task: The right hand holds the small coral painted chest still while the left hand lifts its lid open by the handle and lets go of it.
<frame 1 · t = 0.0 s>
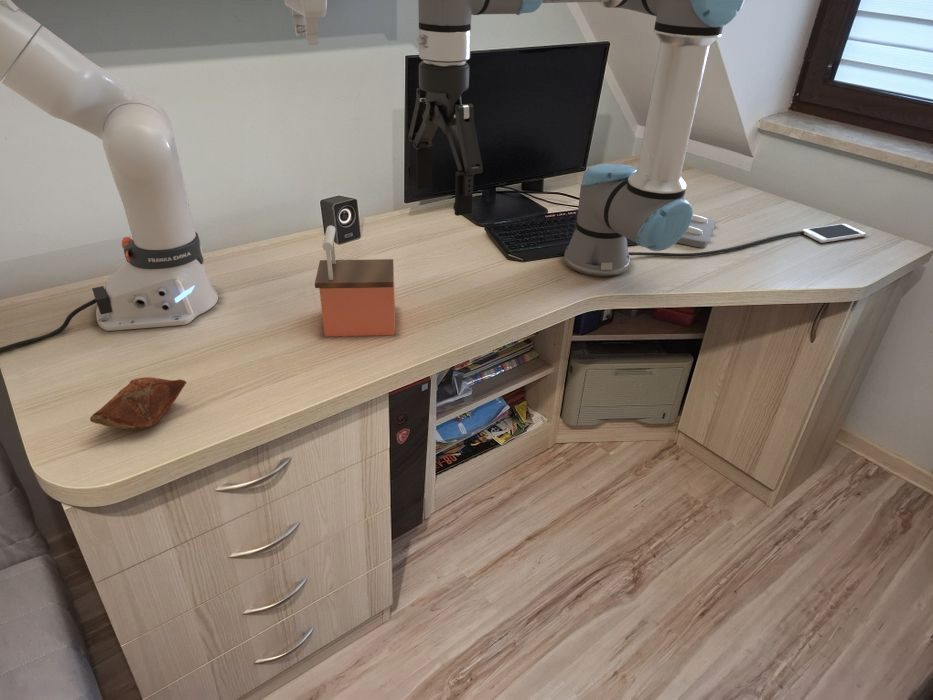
left hand: (306, 40, 114), 48 cm above the table, tool pointing down, fingers open, 8 cm apart
right hand: (442, 200, 106), 28 cm above the table, tool pointing down, fingers open, 13 cm apart
smartphone: (832, 234, 171), on the table
light switch: (680, 230, 170), on the table
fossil: (146, 420, 100), on the table
lid: (354, 255, 118), point 15 cm above the table, hinge at 0.0°
chest: (361, 322, 126), on the table
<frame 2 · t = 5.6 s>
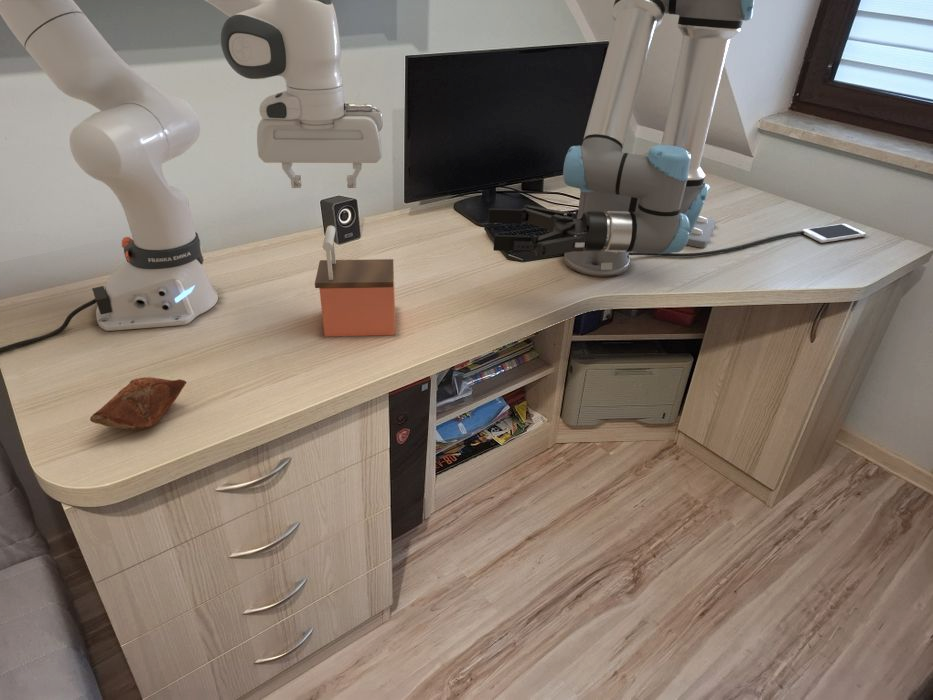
left hand: (324, 187, 110), 28 cm above the table, tool pointing down, fingers open, 8 cm apart
right hand: (491, 228, 119), 19 cm above the table, tool horizontal, fingers open, 13 cm apart
nothing on the table moved.
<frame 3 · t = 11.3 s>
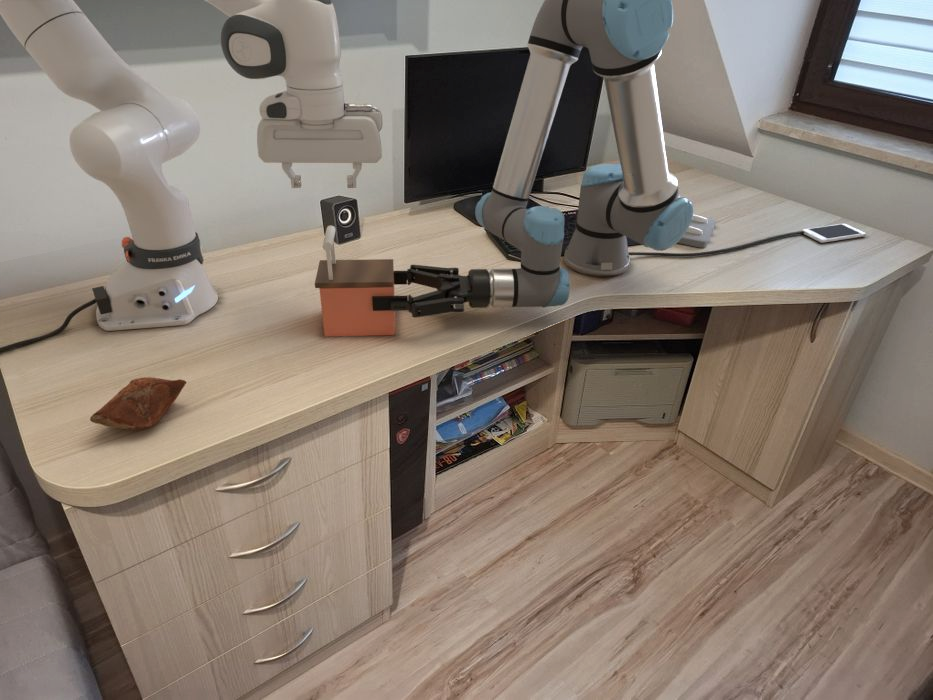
left hand: (324, 187, 110), 28 cm above the table, tool pointing down, fingers open, 8 cm apart
right hand: (373, 290, 122), 7 cm above the table, tool horizontal, fingers closed on chest, 9 cm apart
chest: (361, 322, 126), on the table, touching right hand
everything else where it was.
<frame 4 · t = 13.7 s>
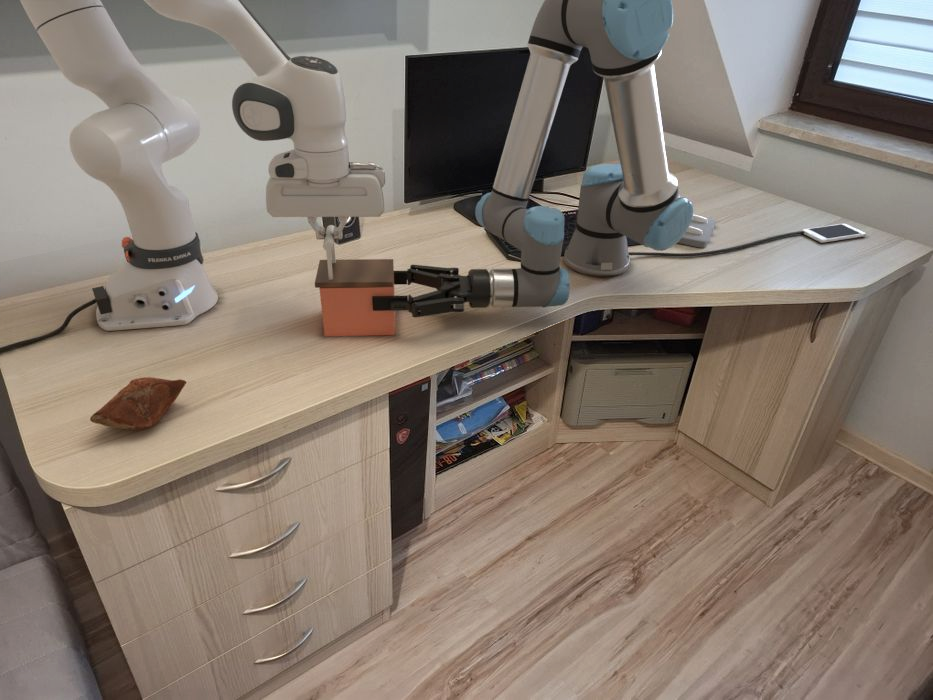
left hand: (329, 238, 116), 18 cm above the table, tool pointing down, fingers closed on lid, 2 cm apart
right hand: (373, 290, 122), 7 cm above the table, tool horizontal, fingers closed on chest, 9 cm apart
lid: (354, 254, 118), point 15 cm above the table, hinge at 0.4°, touching left hand
chest: (361, 322, 126), on the table, touching right hand
everything else where it was.
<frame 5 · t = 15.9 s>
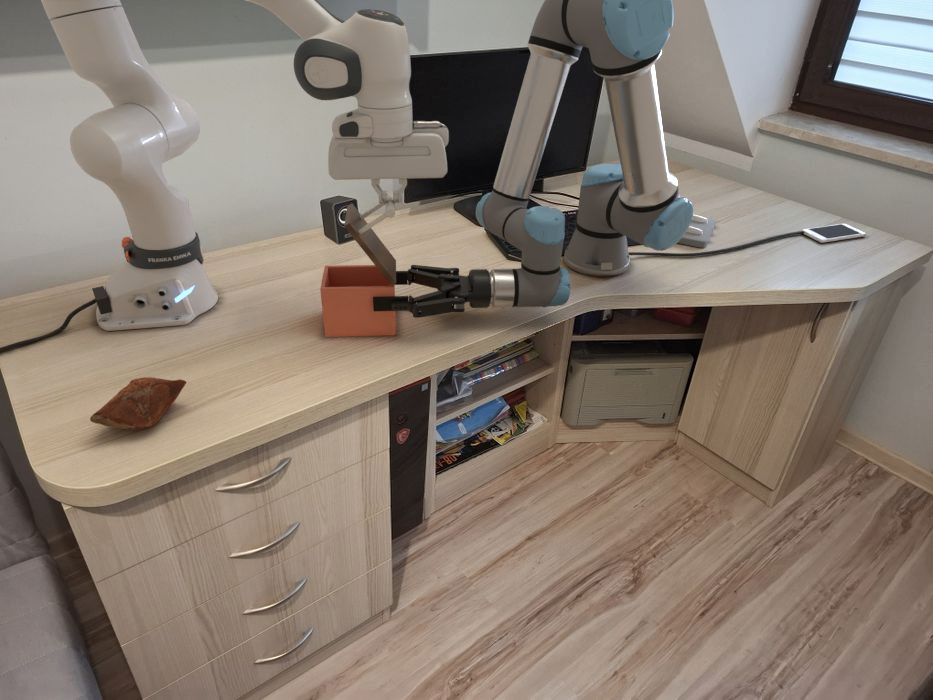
left hand: (390, 202, 113), 25 cm above the table, tool pointing down, fingers closed on lid
right hand: (374, 290, 122), 7 cm above the table, tool horizontal, fingers closed on chest, 10 cm apart
lid: (388, 233, 116), point 19 cm above the table, hinge at 56.5°, touching left hand
chest: (361, 323, 126), on the table, touching right hand
everything else where it was.
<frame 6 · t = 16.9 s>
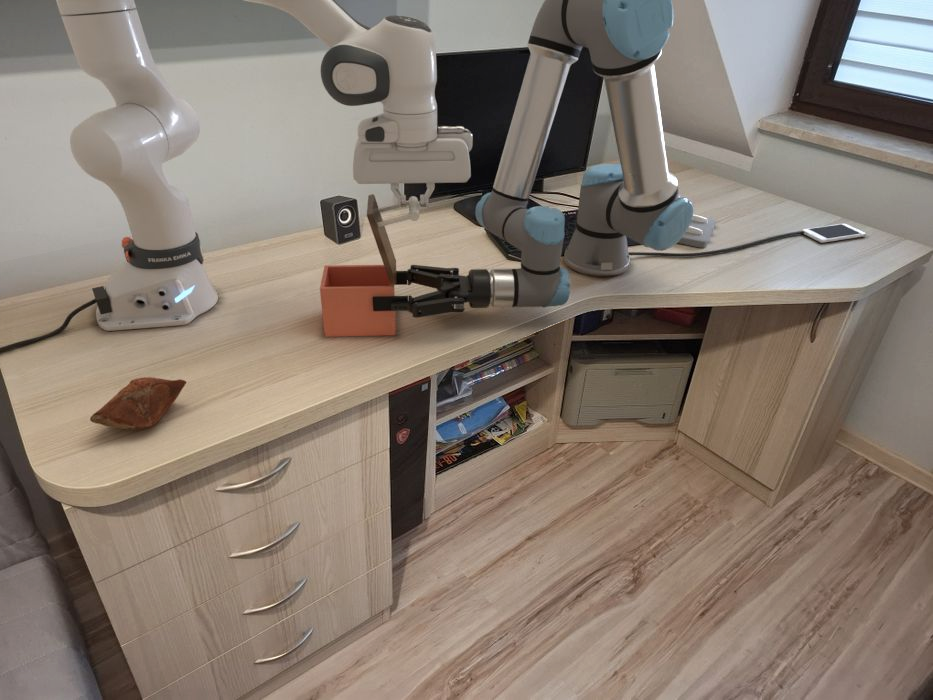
left hand: (413, 206, 114), 24 cm above the table, tool pointing down, fingers open, 3 cm apart
right hand: (373, 290, 122), 7 cm above the table, tool horizontal, fingers closed on chest, 10 cm apart
lid: (402, 234, 116), point 19 cm above the table, hinge at 74.8°
chest: (361, 322, 126), on the table, touching right hand
everything else where it was.
when the right hand's fingers open (7 cm above the table, at t = 21.1 s): chest stays where it is, on the table.
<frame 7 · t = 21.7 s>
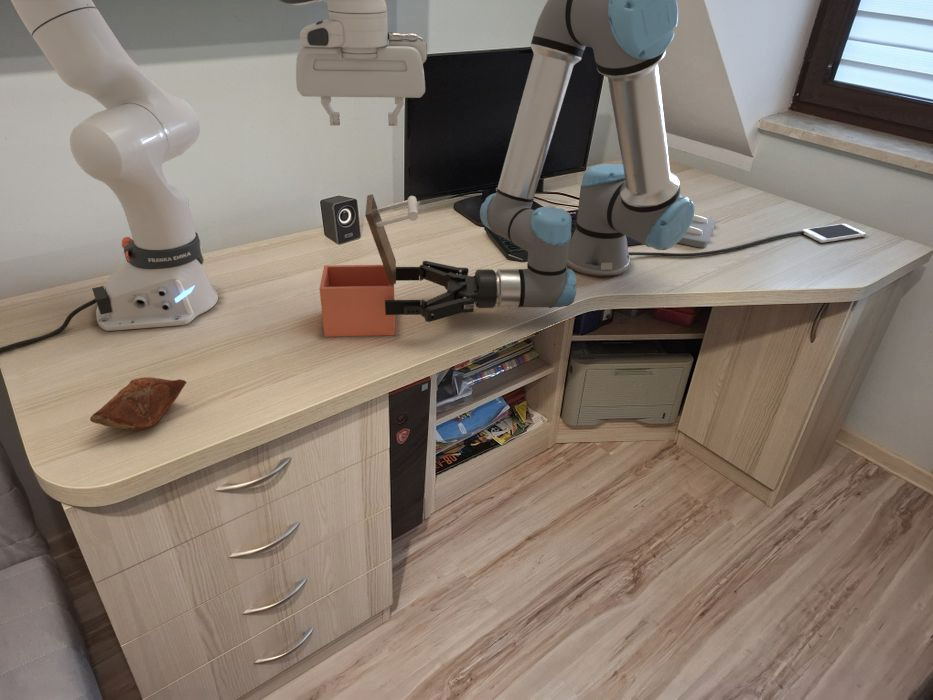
left hand: (364, 124, 105), 38 cm above the table, tool pointing down, fingers open, 8 cm apart
right hand: (385, 289, 123), 7 cm above the table, tool horizontal, fingers open, 13 cm apart
lid: (401, 234, 116), point 19 cm above the table, hinge at 74.1°
chest: (361, 322, 126), on the table
everything else where it was.
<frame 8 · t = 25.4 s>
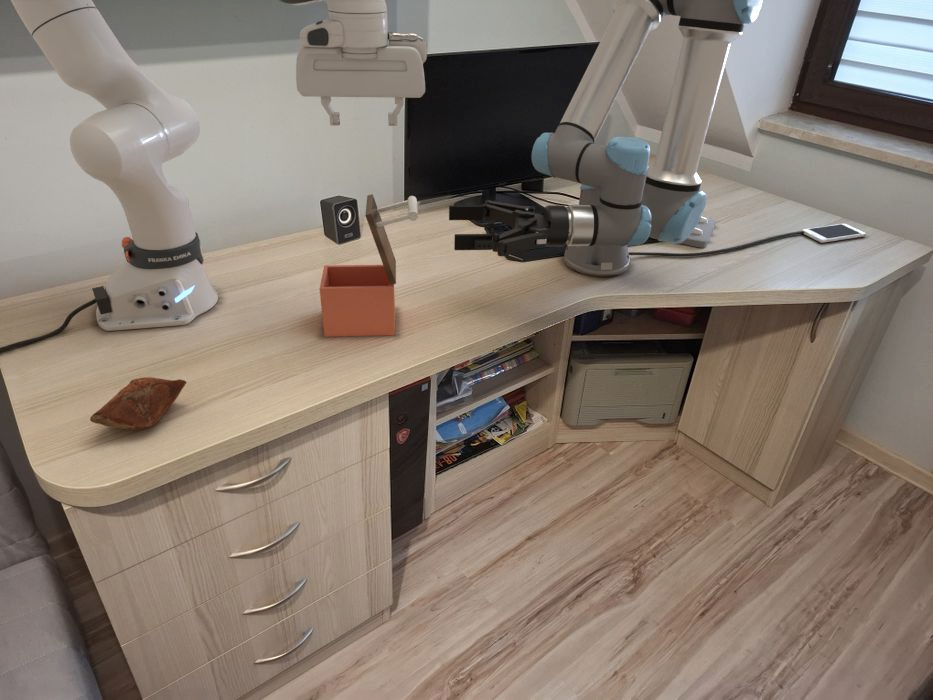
left hand: (364, 124, 105), 38 cm above the table, tool pointing down, fingers open, 8 cm apart
right hand: (451, 226, 116), 20 cm above the table, tool horizontal, fingers open, 13 cm apart
nothing on the table moved.
at the end: lid at +74° (first picture: +0°); the left hand is holding nothing; the right hand is holding nothing; chest tilted 0°; chest never tilted more than 1° during the clip; chest moved 0.1 cm from its start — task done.
